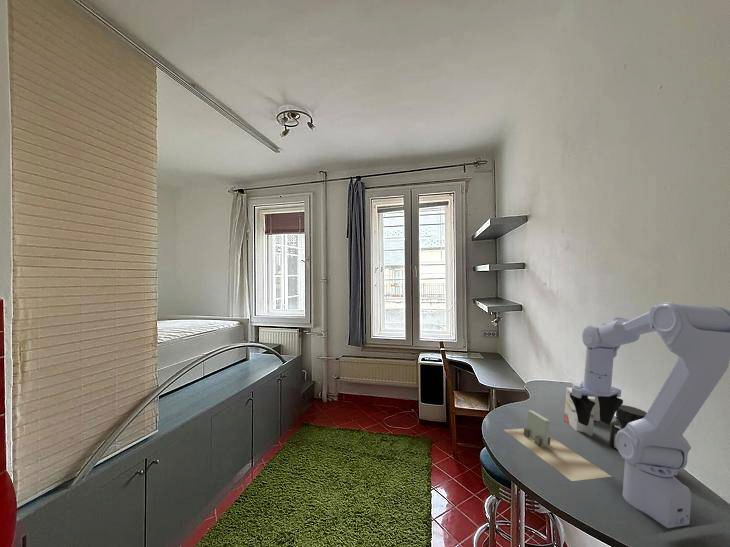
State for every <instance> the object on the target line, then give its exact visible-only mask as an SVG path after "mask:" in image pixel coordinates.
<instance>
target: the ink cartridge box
mask: <svg viewBox="0 0 730 547" xmlns="http://www.w3.org/2000/svg"><path fill="white" fill-rule="evenodd" d="M581 383H584V380H581ZM572 388H573V387H566V390H565V401H564V402H565V404H564V405H565V406H564V412H563V413H564V414H563V422H565V423H566V424H568V425H570V426H571V428H573V429H574V430H575V431H576V432H581V433H584V434H585V435H588V436H590V437H593V433H594V423H595V422H594V421H595V420H594V411H595V405H594V407H593V409H592V411H591V414H590V420H589V424H588V426H585V425H583V424H581V423H579V422H578V417H577V412H576V409H575V406H574V403H573V401H572V399H571V397H570V393H572ZM588 398H589V400H591V401H593V402H595V397H588Z"/></svg>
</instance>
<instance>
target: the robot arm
mask: <svg viewBox="0 0 730 547" xmlns="http://www.w3.org/2000/svg"><path fill="white" fill-rule="evenodd" d="M653 332H657V334H658V335H659V337H660V338H661V340H662V342H664V344H665V346H666V347H667V349H668V350H669V351H670V352H671V353H673V354H675V355H676V356H677V357H678V360H677V361H676V363H675V364H674V366H673V368H672V369H671V371H670V373H669V375H668V376H667V378H666V379H665V382H664V383H663V385H662V387H661V388H660V390H659V392H658V393H657V395H656V397H655V399H654V400H653V402H652V403H651V405H650V407H649V409H648V410H647V412H646V413H647V414H646V415H645V417H644V418H642V419H639V420H636V421H633V422H629V423H627V425H626V427H625V428H624V429H621V430H619V431H618V432H617V435H616V439H615V441H616V446H617V449H618V451H619V454H620V456H621V457H622V458H623V460H624V469H623V470H624V471H623V472H624V473H623V480H622V482H623V483H622V484H623V485H622V498H623V499H624V500H625V502H626V503H628V504H629V505H630V506H632V507H633V508H635V509H637V510H638V511H640V512H642V513H643V514H646V515H647V516H649V517H650V518H652V519H653V520H655V521H656V522H657V523H660V524H661V525H662V526H664V527H665V528H667V529H672V528H678V527H682V526H689V525H690V522H691V508H692V493H691V489H690V488H689V487H688V486H687V485H685V484H683V482H681V481H679V480H678V479H677V477H675V476H678V471H680V470H684V469H685V468H686V466H687V465H688V454H689V452H690V450H692V447H691V445H690V443H689V442H688V440H687V439H686V437H685V436H684V433H685V432H686V430H687V429H688V427H690V426H689V425H690V424H691V423H692V422H693V420H694V418H695V417H696V415H697V414H698V412H700V410H701V408H702V407H703V405H704V404H705V403H706V401H707V400H708V398H709V397H710V396H711V394H712V392H713V391H714V389H715V388H716V387H717V385H718V383H719V381H721V379H722V378H723V376H724V375H725V373H726V372H727V370H728V368H729V366H730V365H729V364H730V310H729V309H728V308H726V307H723V306H704V305H703V306H702V305H691V304H680V303H673V302H667V301H666V302H662V303H660V304H657V305H652V306H651V308H650V310H649V311H647V312H645V313H642V314H640V315H639V316H636V317H634V318H631V319H627V318H623V317H615V318H613V321H610V322H608V323H602V324H601V325H600V326H593V325H588V326H587V327H585V328H584V329H583V331H582V335H581V336H582V342H583V345H584V347H586V353H585V365H584V376H583V377H584V378H583V381H584V383H582V382H581V384H580V386H579V387H576V388H573V387H571V388H572V393H570V397H571V399H572V401H573V403H574V406H575V409H576V412H577V417H578V422H579V423H581V424H583V425H585V426H588V424H589V420H590V414H591V411H592V409H593V407H594V405H595V404H596V403H595V402H593V401H591V400H589V398H588V397H595V396H597V397H598V400H599V406H600V421H599V422H602V423H605V425H609V426H610V425H611V423H612V422H613V418H614V416H615V415H616V411H617V409H618V408H619V407H620V406H621V405H624V400H623V398H621V397H622V389H620V388H617V387H614V386H612V383H613V382H612V381H613V368H614V360H615V359H614V358H616V356H617V354H618V350H619V349H620V347H621V346H623V345H626V344H631V343H635V342H637V341H638V340H639V339H640V336H641V335H645V334H650V333H653ZM618 451H617V452H618ZM691 528H692V526H689V527H683V528H679V529H673V530H668V531H666V533H670V532H676V531H681V530H686V529H691Z"/></svg>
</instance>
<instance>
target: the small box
mask: <svg viewBox="0 0 730 547" xmlns="http://www.w3.org/2000/svg"><path fill="white" fill-rule="evenodd" d="M581 383H582V382H581ZM581 383H580V382H576V381H573V383H572V388H576V387H579V386H580V384H581ZM595 403H596V404H595V411H594V421H596V422H601V421H600V406H599V400H598V397H597V396H595Z"/></svg>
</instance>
